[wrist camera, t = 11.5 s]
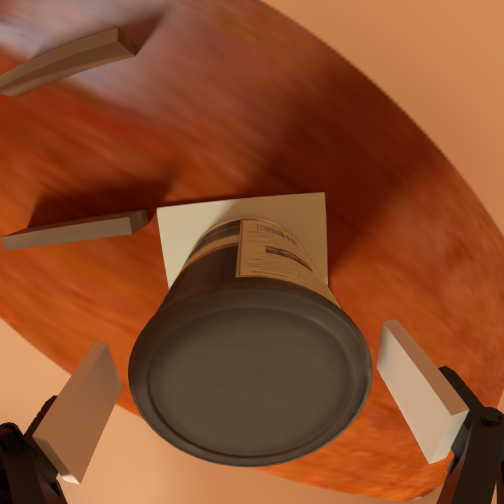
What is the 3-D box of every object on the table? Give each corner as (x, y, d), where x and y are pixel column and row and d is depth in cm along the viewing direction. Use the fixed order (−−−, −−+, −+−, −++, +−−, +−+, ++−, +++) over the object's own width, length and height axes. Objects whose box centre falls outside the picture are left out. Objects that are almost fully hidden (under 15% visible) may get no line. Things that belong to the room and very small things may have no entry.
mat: (158, 207, 24) (156, 208, 24) (323, 192, 24) (324, 192, 24) (183, 350, 28) (182, 353, 27) (326, 338, 28) (327, 341, 27)
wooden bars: (17, 86, 21) (-9, 80, 17) (134, 44, 21) (117, 27, 17) (29, 240, 25) (4, 251, 21) (148, 223, 25) (131, 234, 21)
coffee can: (191, 337, 27) (155, 465, 13) (179, 219, 24) (102, 286, 11) (310, 333, 27) (353, 459, 13) (313, 214, 24) (390, 276, 11)
